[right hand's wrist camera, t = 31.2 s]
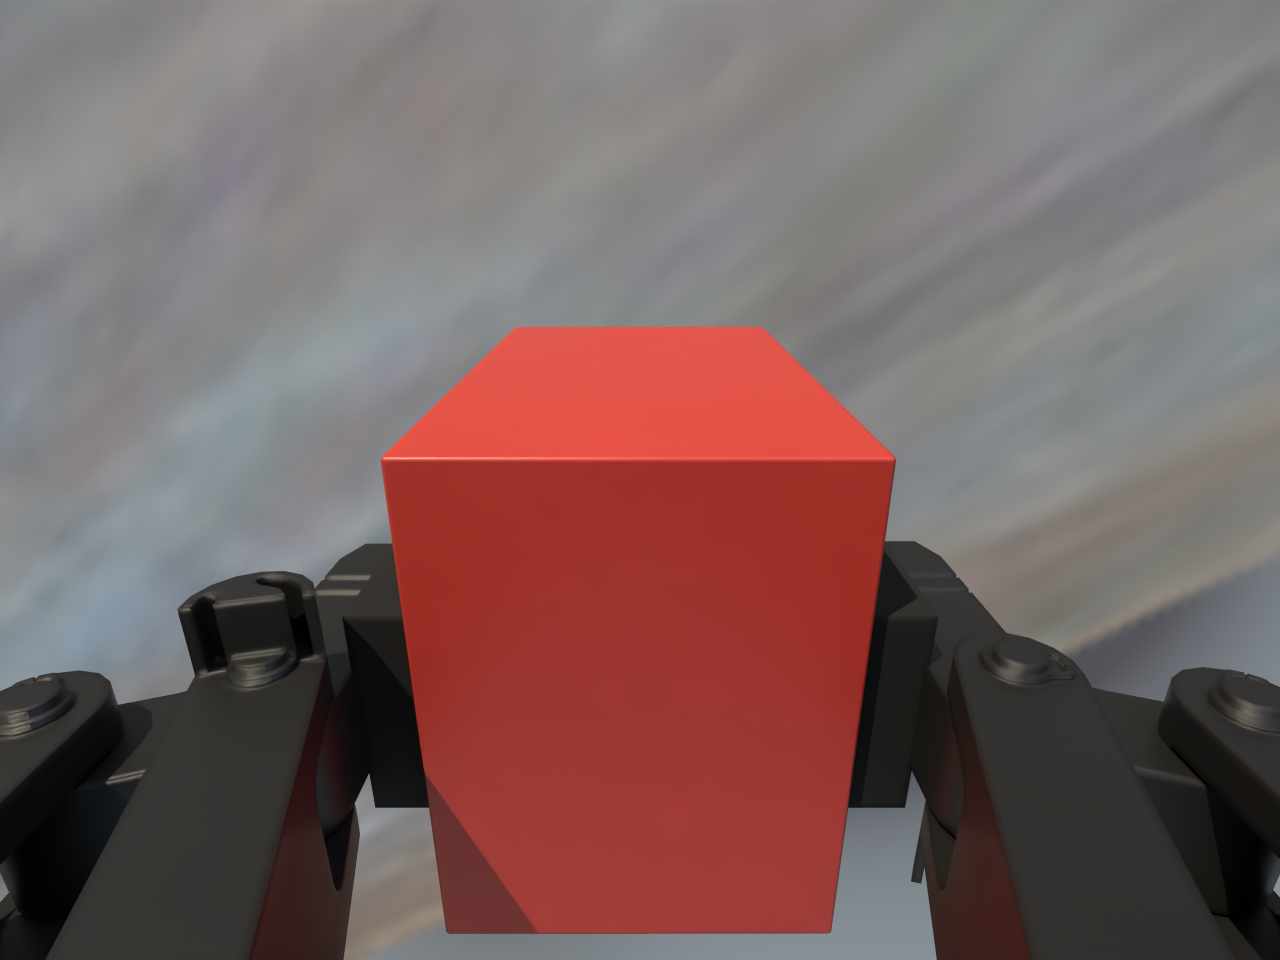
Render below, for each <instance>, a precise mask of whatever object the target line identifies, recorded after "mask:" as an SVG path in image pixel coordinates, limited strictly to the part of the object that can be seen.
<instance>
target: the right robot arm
mask: <svg viewBox="0 0 1280 960" xmlns="http://www.w3.org/2000/svg"><path fill="white" fill-rule="evenodd" d="M968 590H969V589H968V588H967V587H966V585H965V584H964V583H963V582H962V581H961V580H960V578H956V574H955V573H954V571H953V570H952V569H951V568H950V567H949V566H948V564H947V563H946V562H945V561H944V560H943V559H942V557H941V556H939V555H937V554H936V553H934V552H932V551H930V550H929V549H927V548H925V547H923V546H922V545H920V544H918V543H917V542H915V541H885V543H884V550H883V558H882V565H881V572H880V579H879V587H878V594H877V601H876V609H875V616H874V623H873V630H872V638H871V645H870V652H869V659H868V667H867V674H866V681H865V688H864V696H863V703H862V710H861V717H860V725H859V732H858V739H857V746H856V754H855V761H854V768H853V775H852V783H851V790H850V797H849V804H848V808H905V805H906V799H907V793H908V788H909V782H910V776H911V771H912V772H913V774H914V776H915V778H916V780H917V782H918V784H919V786H920V788H921V790H922V792H923V795H924V797H925V799H926V802H925V807H924V812H923V818H922V823H921V828H920V833H919V839H918V844H917V849H916V855H915V860H914V865H913V872H912V879H911V881H912V882H917V883H921V881H922V876H923V871H924V868H925V873H926V881H927V889H928V896H929V904H930V911H931V919H932V926H933V934H934V941H935V949H936V956H937V960H1280V897H1279V896H1278V895H1277V894H1276V893H1275V892H1274V891H1273V888H1274V886H1275V884H1276V882H1277V879H1278V877H1279V875H1280V687H1278V686H1276V685H1274V684H1271V683H1270V682H1268V681H1267V680H1265V679H1263V678H1260V677H1257V676H1254V675H1251V674H1247V675H1245V674H1244V673H1243V672H1238V671H1234V670H1222V669H1213V668H1204V667H1201V668H1194V669H1186V670H1182V671H1180V672H1179V673H1178V674H1176V675H1175V676H1174V677H1172V679H1171V682H1170V685H1169V688H1168V691H1167V694H1166V697H1165V700H1164V702H1162V701H1156V700H1151V699H1146V698H1140V697H1135V696H1130V695H1125V694H1120V693H1114V692H1109V691H1104V690H1100V689H1096V688H1092V687H1091V685H1090V683H1089V681H1088V680H1087V678H1086V676H1085V674H1084V673H1083V672H1082V671H1081V670H1080V668H1079V667H1078V666H1077V665H1076V664H1075V662H1074V661H1073V660H1071V659H1070V658H1068V657H1067V656H1065V655H1064V654H1062V653H1061V652H1059V651H1058V650H1056V649H1054V648H1053V647H1050V646H1048V645H1045V644H1043V643H1040V642H1038V641H1035V640H1033V639H1031V638H1027V637H1022V636H1018V635H1013V634H1009V633H1006V632H1005V631H1004V630H1003V629H1002V627H1001V626H1000V625H999V624H998V623H997V622H996V620H995V619H994V618H993V617H992V616H991V615H990V613H989V612H988V611H987V610H986V609H985V608H984V606H983V605H982V604H981V603H980V602H979V601H978V599H977V598H976V597H975V596H974V595H973V594H972V593H969V591H968ZM177 610H178V614H179V617H180V621H181V625H182V628H183V632H184V636H185V640H186V643H187V647H188V651H189V654H190V658H191V662H192V665H193V669H194V673H195V677H194V679H193V681H192V683H191V685H190V686H189V688H188V690H187V691H185V692H181V693H177V694H173V695H167V696H162V697H157V698H152V699H147V700H141V701H136V702H131V703H126V704H120V705H118V704H117V701H116V698H115V695H114V692H113V689H112V686H111V683H110V681H109V680H108V679H106V678H105V677H104V676H102V675H101V674H99V673H93V672H86V671H71V672H62V673H50V674H45V675H40V676H38V678H34V677H32V678H29V679H26V680H23V681H20V682H18V683H16V684H14V685H13V686H11V687H9V688H7V689H4V690H2V691H0V873H1V876H2V878H3V880H4V882H5V885H6V887H7V889H8V891H9V893H8V894H7V895H6V897H5V898H4V899H3V900H2V901H1V902H0V960H343V958H344V951H345V943H346V936H347V928H348V921H349V913H350V905H351V898H352V890H353V883H354V875H355V868H356V860H357V852H358V845H359V837H360V831H359V824H358V818H357V812H356V807H355V801H356V799H357V797H358V795H359V793H360V791H361V789H362V787H363V785H364V783H365V780H366V778H367V776H368V774H370V779H371V785H372V791H373V796H374V802H375V808H429V803H428V796H427V789H426V781H425V774H424V767H423V760H422V753H421V745H420V738H419V731H418V724H417V717H416V709H415V702H414V695H413V688H412V681H411V674H410V666H409V659H408V652H407V645H406V638H405V630H404V623H403V616H402V609H401V602H400V594H399V587H398V580H397V573H396V566H395V559H394V551H393V544H365V545H363V546H361V547H360V548H358V549H356V550H355V551H353V552H351V553H349V554H348V555H346V556H344V557H343V558H341V559H340V560H339V561H338V562H337V563H336V564H335V566H334V567H333V568H332V569H331V570H330V571H329V573H328V574H327V575H326V576H325V580H322V581H321V582H320V583H319V584H318V586H317V587H316V588H315V589H314V585H313V582H312V581H311V580H309V579H308V578H306V577H305V576H304V575H301V574H296V573H291V572H286V571H275V572H258V573H253V574H248V575H242V576H237V577H234V578H231V579H228V580H225V581H222V582H219V583H216V584H213V585H211V586H209V587H207V588H205V589H203V590H201V591H200V592H198V593H196V594H194V595H192V596H191V597H189V598H188V599H187V600H186V601H185V602H184V603H183V604H182V605H181V606H180V607H179V608H178V609H177Z"/></svg>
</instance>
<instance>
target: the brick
mask: <svg viewBox="0 0 1280 960" xmlns="http://www.w3.org/2000/svg"><path fill="white" fill-rule="evenodd" d="M895 463H896V459H895V457H894V456H893V455H892V454H891V453H890V452H889V451H888V450H887V449H886V448H885V447H884V446H883V445H882V444H881V443H880V442H879V441H878V440H877V439H876V438H875V437H874V436H873V435H872V434H871V433H870V432H869V431H868V430H867V429H866V428H865V427H864V426H863V425H862V424H861V423H860V422H859V421H858V420H856V419H855V418H854V417H853V416H852V415H851V414H850V413H849V412H848V411H847V410H846V409H845V408H844V407H843V406H842V405H841V404H840V403H839V402H838V401H837V400H836V399H835V398H834V397H833V396H832V395H831V394H830V393H829V392H828V391H827V390H826V389H825V388H824V387H823V386H822V385H821V384H820V383H819V382H818V381H817V380H816V379H815V378H814V377H812V376H811V375H810V374H809V373H808V372H807V371H806V370H805V369H804V368H803V367H802V366H801V365H800V364H799V363H798V362H797V361H796V360H795V359H794V358H793V357H792V356H791V355H790V354H789V353H788V352H787V351H786V350H785V349H784V348H783V347H782V346H781V345H780V344H779V343H778V342H777V341H776V340H775V339H774V338H773V337H772V336H771V335H770V334H768V333H767V332H766V331H765V330H764V329H763V328H762V327H516V328H514V329H513V330H512V331H511V332H510V333H509V334H508V335H507V336H506V337H505V338H504V339H503V340H502V341H501V342H500V343H499V344H498V345H497V346H496V347H495V348H494V349H493V350H492V351H491V352H490V353H489V354H488V355H487V356H485V357H484V358H483V359H482V360H481V361H480V362H479V363H478V364H477V365H476V366H475V367H474V368H473V369H472V370H471V371H470V372H469V373H468V374H467V375H466V376H465V377H464V378H463V379H462V380H461V381H460V382H459V383H458V384H457V385H456V386H455V387H454V388H453V389H451V390H450V391H449V392H448V393H447V394H446V395H445V396H444V397H443V398H442V399H441V400H440V401H439V402H438V403H437V404H436V405H435V406H434V407H433V408H432V409H431V410H430V411H429V412H428V413H427V414H426V415H425V416H424V417H423V418H422V419H421V420H420V421H419V422H417V423H416V424H415V425H414V426H413V427H412V428H411V429H410V430H409V431H408V432H407V433H406V434H405V435H404V436H403V437H402V438H401V439H400V440H399V441H398V442H397V443H396V444H395V445H394V446H393V447H392V448H391V449H390V450H389V451H388V452H387V453H386V454H385V455H384V456H382V459H381V465H382V472H383V479H384V487H385V494H386V501H387V508H388V515H389V523H390V530H391V537H392V544H393V551H394V559H395V566H396V573H397V580H398V587H399V594H400V602H401V609H402V616H403V623H404V630H405V638H406V645H407V652H408V659H409V666H410V674H411V681H412V688H413V695H414V702H415V709H416V717H417V724H418V731H419V738H420V745H421V753H422V760H423V767H424V774H425V781H426V789H427V796H428V803H429V810H430V817H431V824H432V832H433V839H434V846H435V853H436V860H437V868H438V875H439V882H440V889H441V896H442V904H443V911H444V918H445V925H446V932H447V933H449V934H622V933H623V934H624V933H625V934H628V933H629V934H630V933H633V934H634V933H635V934H643V933H644V934H646V933H830V932H831V928H832V921H833V913H834V906H835V899H836V891H837V884H838V877H839V870H840V863H841V855H842V848H843V841H844V833H845V826H846V819H847V812H848V804H849V797H850V790H851V783H852V775H853V768H854V761H855V754H856V746H857V739H858V732H859V725H860V717H861V710H862V703H863V696H864V688H865V681H866V674H867V667H868V659H869V652H870V645H871V638H872V630H873V623H874V616H875V609H876V601H877V594H878V587H879V579H880V572H881V565H882V558H883V550H884V543H885V536H886V529H887V521H888V514H889V507H890V500H891V492H892V485H893V478H894V471H895Z"/></svg>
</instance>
